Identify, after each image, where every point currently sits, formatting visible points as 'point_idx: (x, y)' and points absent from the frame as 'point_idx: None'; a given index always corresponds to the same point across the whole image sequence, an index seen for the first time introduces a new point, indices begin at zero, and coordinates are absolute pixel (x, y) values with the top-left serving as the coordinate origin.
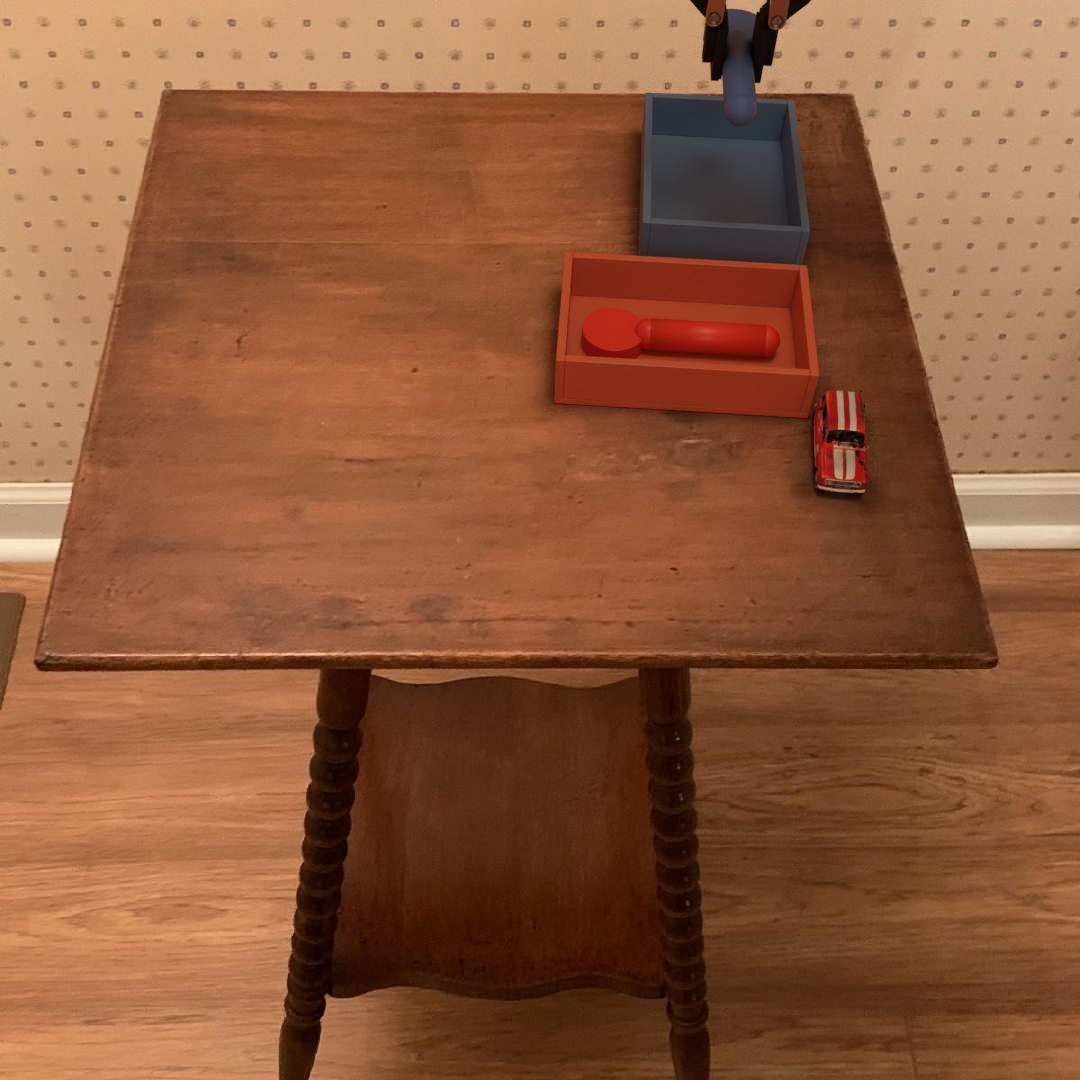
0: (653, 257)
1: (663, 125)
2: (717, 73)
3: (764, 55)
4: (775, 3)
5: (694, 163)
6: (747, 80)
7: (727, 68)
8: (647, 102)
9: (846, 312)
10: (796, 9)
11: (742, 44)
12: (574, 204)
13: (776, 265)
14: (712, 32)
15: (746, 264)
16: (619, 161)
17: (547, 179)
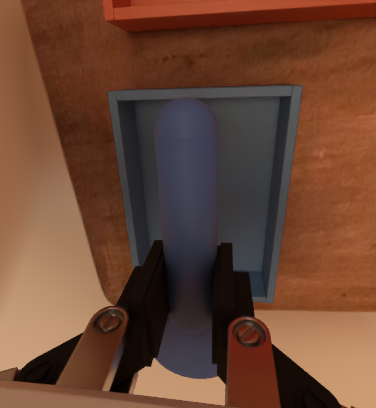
0: (298, 4)
1: (250, 276)
2: (223, 248)
3: (143, 267)
4: (101, 359)
5: (223, 236)
6: (172, 193)
7: (210, 239)
8: (272, 289)
9: (80, 33)
10: (64, 347)
11: (182, 297)
12: (343, 179)
13: (140, 12)
14: (242, 311)
15: (176, 8)
16: (289, 240)
17: (364, 213)
